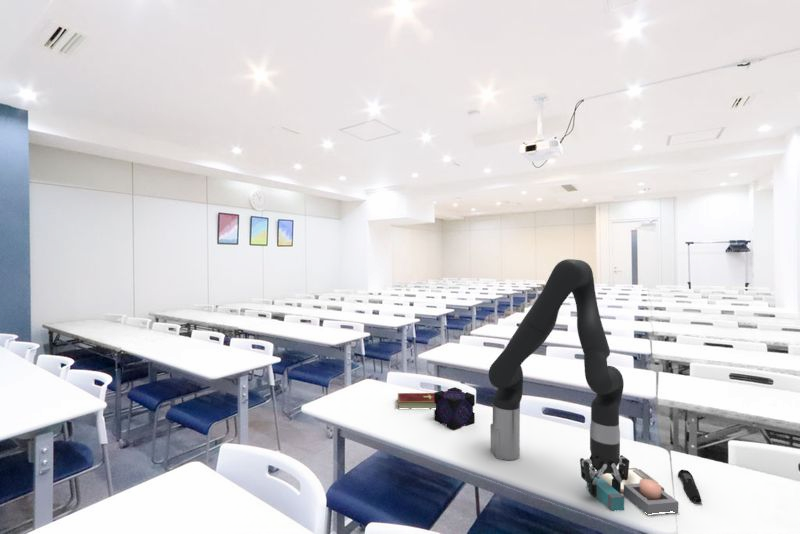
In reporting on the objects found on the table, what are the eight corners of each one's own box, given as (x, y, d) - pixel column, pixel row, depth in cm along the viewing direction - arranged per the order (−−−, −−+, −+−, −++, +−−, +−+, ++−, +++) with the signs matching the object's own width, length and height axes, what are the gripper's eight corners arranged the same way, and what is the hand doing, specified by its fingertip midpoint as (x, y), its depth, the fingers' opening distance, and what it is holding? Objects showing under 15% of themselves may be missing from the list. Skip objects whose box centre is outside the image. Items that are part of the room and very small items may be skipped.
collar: (648, 515, 99) (648, 504, 99) (623, 494, 108) (623, 484, 108) (678, 512, 100) (678, 501, 100) (651, 492, 109) (651, 482, 109)
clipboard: (614, 494, 108) (614, 490, 108) (590, 473, 119) (590, 469, 119) (664, 490, 110) (664, 485, 110) (636, 469, 121) (636, 465, 121)
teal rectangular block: (624, 510, 101) (624, 496, 101) (611, 511, 101) (611, 497, 101) (594, 483, 114) (594, 471, 114) (583, 483, 113) (583, 471, 113)
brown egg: (649, 501, 101) (649, 490, 101) (635, 489, 106) (635, 479, 106) (665, 499, 102) (665, 488, 102) (651, 488, 107) (651, 478, 107)
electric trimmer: (687, 504, 104) (687, 493, 104) (677, 475, 118) (677, 465, 118) (704, 508, 103) (704, 497, 103) (691, 478, 116) (691, 468, 116)
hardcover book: (397, 400, 182) (397, 392, 182) (440, 400, 183) (440, 392, 183) (398, 410, 170) (398, 401, 170) (443, 410, 171) (443, 401, 171)
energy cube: (474, 423, 156) (474, 395, 156) (453, 430, 149) (453, 401, 149) (454, 413, 166) (455, 387, 166) (434, 420, 159) (434, 392, 159)
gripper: (589, 444, 102) (589, 505, 102) (637, 441, 103) (637, 501, 104) (573, 432, 109) (573, 488, 109) (618, 429, 111) (618, 485, 111)
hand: (604, 494), depth 106 cm, fingers open, 6 cm apart
